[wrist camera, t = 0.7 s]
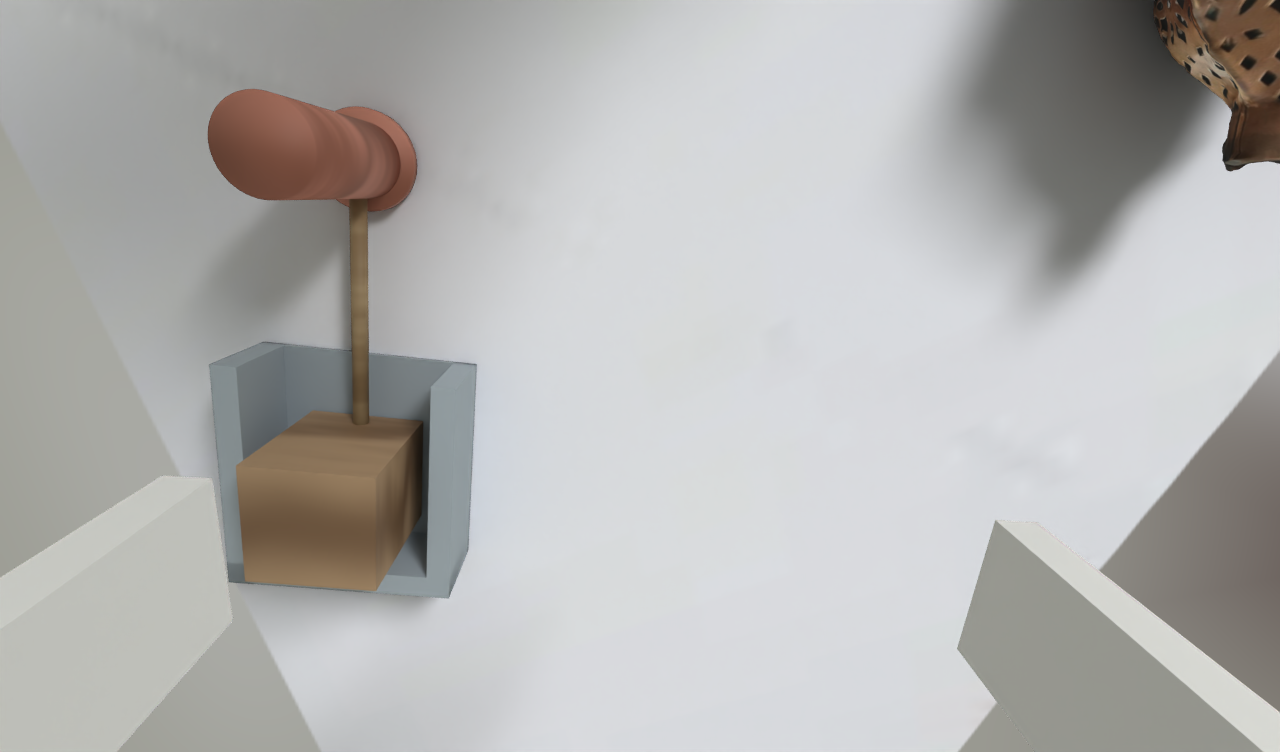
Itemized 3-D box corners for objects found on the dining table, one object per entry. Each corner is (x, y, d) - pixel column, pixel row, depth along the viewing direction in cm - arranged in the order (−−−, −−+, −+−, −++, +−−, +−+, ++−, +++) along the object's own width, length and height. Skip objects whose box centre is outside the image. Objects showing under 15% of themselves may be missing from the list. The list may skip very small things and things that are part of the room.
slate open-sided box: (263, 341, 32) (209, 364, 28) (476, 364, 33) (455, 389, 28) (275, 535, 35) (228, 582, 31) (468, 550, 36) (448, 598, 32)
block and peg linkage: (303, 100, 28) (163, 56, 20) (430, 117, 29) (350, 83, 20) (318, 504, 35) (217, 609, 26) (422, 513, 35) (358, 619, 26)
